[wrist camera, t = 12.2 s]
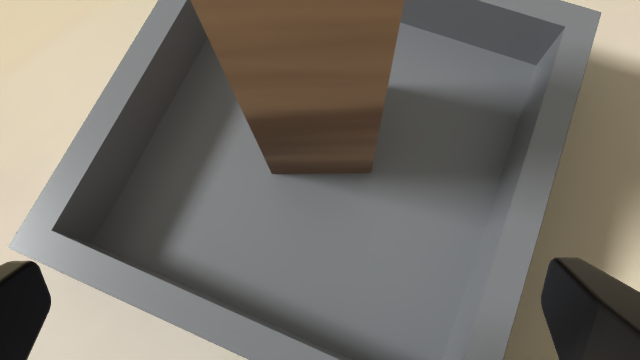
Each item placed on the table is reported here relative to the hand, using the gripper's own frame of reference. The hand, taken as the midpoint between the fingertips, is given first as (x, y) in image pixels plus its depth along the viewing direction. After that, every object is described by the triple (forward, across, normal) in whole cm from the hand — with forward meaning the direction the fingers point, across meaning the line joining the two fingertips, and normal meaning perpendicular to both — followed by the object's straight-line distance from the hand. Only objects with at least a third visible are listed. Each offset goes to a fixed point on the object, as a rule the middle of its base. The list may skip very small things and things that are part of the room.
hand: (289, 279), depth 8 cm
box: (+14, 0, +4) cm, 14 cm away
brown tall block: (+14, 0, +2) cm, 14 cm away
